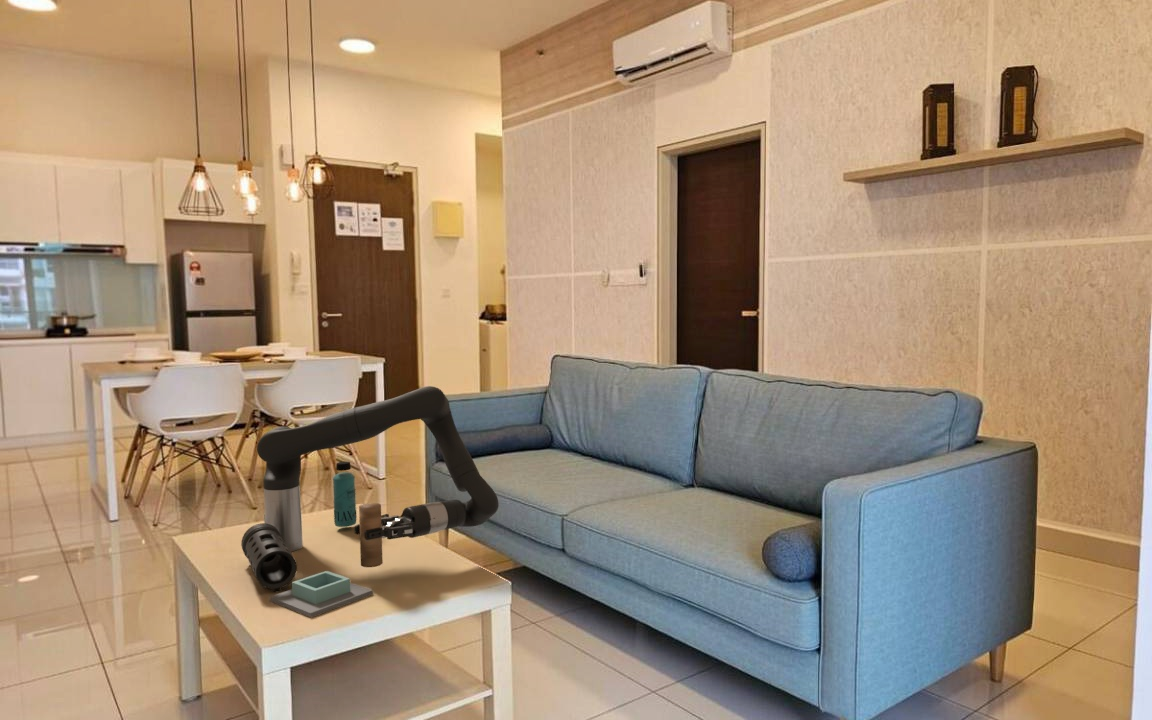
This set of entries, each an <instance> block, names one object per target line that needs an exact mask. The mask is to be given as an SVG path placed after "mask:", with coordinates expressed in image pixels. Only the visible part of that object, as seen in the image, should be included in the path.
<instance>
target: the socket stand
mask: <svg viewBox="0 0 1152 720" xmlns="http://www.w3.org/2000/svg"><path fill="white" fill-rule="evenodd" d="M373 595H374V590H373V589H371V588H368V587H365V586H361V585H359V584H356V583H354V582H351V579H350V578H349V577H346V576H343V575H341V574H337V573H334V572H331V571H328V570H325V571H322V572H319V573H316V574H312V575H309V576H307V577H304V578H301V579H298V580H295V581H291V589H289V590H286V591H285V590H284V591H282V592H280V593H276V594H273V595H270V596H269V602H272V603H274V604H276V605H278V606H281V607H283V608H286V609H289V610H291V611H293V610H294V611H293V612H296V613H297V614H298V613H299V614H300V613H301V615H303V616H306V617H308V618H310V619H312V618H313V617H316V616H319V615H321V614H325V613H327V612H330V611H333V610H334V609H338V608H340V607H343V606H345V605H349V604H352V603H354V602H357V601H359V600H362V599H364V598H367V597H370V596H373ZM332 609H333V610H332Z"/></svg>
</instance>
